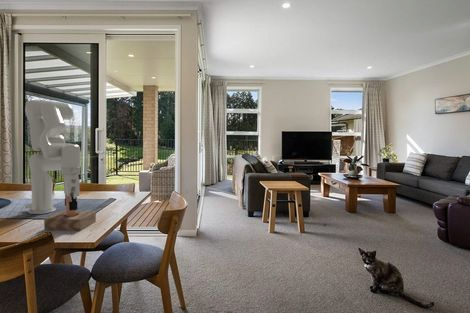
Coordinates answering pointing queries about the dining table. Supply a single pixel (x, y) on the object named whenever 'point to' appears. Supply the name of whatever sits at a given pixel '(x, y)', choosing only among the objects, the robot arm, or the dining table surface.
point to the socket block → (70, 221)
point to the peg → (68, 212)
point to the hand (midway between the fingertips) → (71, 207)
